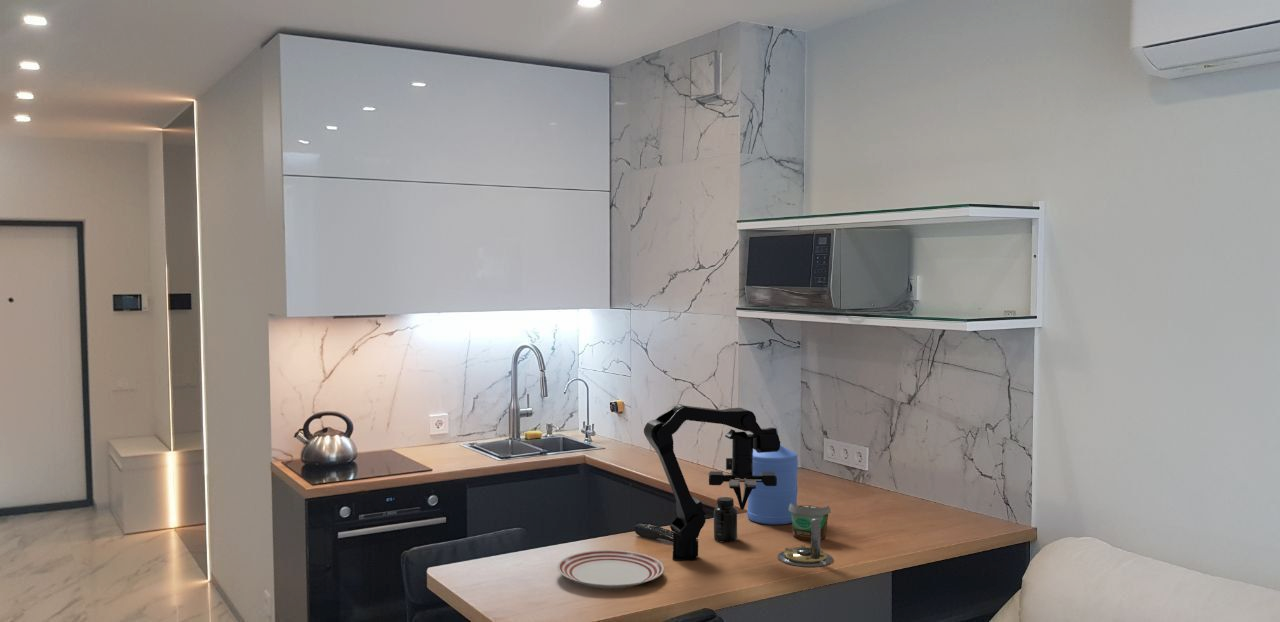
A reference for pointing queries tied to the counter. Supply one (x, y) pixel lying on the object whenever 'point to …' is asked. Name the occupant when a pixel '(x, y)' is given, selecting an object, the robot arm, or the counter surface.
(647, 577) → the dinner plate
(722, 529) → the supplement bottle
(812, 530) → the rod on round base
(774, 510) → the water jug
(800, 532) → the food container
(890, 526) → the counter surface
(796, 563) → the flange
